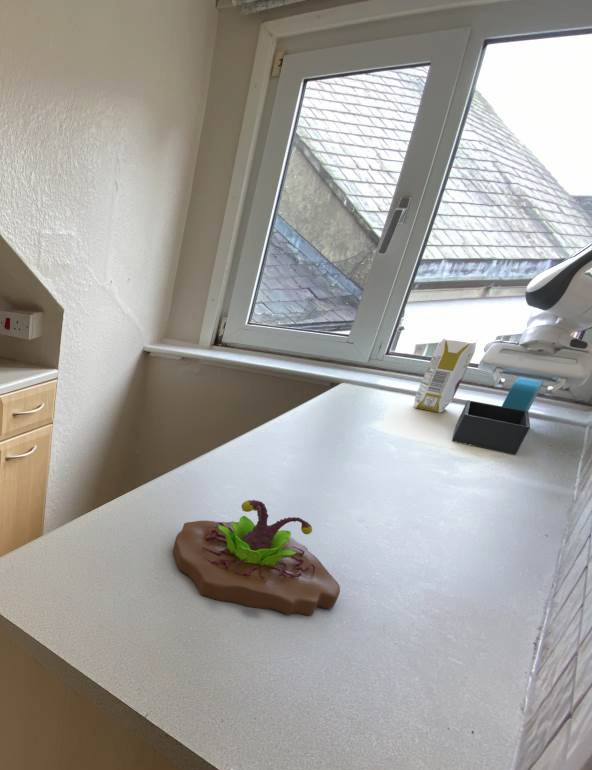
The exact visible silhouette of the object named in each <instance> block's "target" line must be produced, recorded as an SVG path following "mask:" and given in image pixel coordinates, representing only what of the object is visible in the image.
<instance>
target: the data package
mask: <svg viewBox="0 0 592 770" xmlns="http://www.w3.org/2000/svg"><path fill="white" fill-rule="evenodd" d="M544 382H545V381H543V380H538V379H532V378H526V377H517V379H516V380H515V381H514V382H513V383H512V385H511V387H510V390H509V391H508V393H507V395H506V397H505V399H504V401H503V403H502V405H501V407H507V408H512V409H518V410H523V411H528V412H529V410H530V409H531V407H532V405H533V404H534V401H535V399H536V397H537V395H538V394H539V392H540V390H541V388H542V387H543V385H544Z"/></svg>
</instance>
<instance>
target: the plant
mask: <svg viewBox="0 0 592 770" xmlns="http://www.w3.org/2000/svg"><path fill="white" fill-rule="evenodd" d="M241 511H242V512H246V513H250V512H252V511H254V512H256V513H257V515H256V516H257V522H256V524H255V523H254V522H253V521H252V520H251V519H250V518H248V517H247V516H246V515H242V516H240V517H239V522H238V521H234V520H231V521H228V522H227V521H215V520H196V521H189V522H188V521H187V522H184V524H183V526H182V528H181V530H180V531H179V532H178V533H177V534H176V536H175V540H174V544H173V549H172V555H173V556H174V559H175V563H176V566H177V569H178V570H179V571H180V572H182V573H183V574H185V575H186V576H188V577H189V578H190V580H191V581H192V582H193V583H194V585H195V587H196V588H197V590H198V592H199V594H200V595H201V596H205V597H207V598H209V599H213V600H217V601H220V602H230V603H236V604H239V605H241V606H245V607H249V608H257V609H266V610H273V611H277V612H279V613H281V614H284V615H287V616H289V615H291V614H301V615H304V616H312V615H313V614H314V613H315V610H316V608H317V607H318V608H323V609H327V610H331V609H332V608H334V606H335V605H336V603H337V601H338V598H339V595H340V592H341V587H340V584H339V582H338V581H337V580H336V579H335V578H334V577H333V575H331V573H330V572H329V570H327V568H326V567H325V566H324V565H323V564H322V562H321V561H320V559H318V557H316V555H314V554H313V553H312V552H310V551H309V550H308V547H307V546H305V545H303V544H302V543H299V542H298V541H297V540H295V539H294V538H292V537H291V536H292V531H291V530H284V529H282V530H280V529H281V528H282V527H284V526H285V525H287V524H289V523H291V522H294V523H296V522H298V523H300V524H301V528H300V531H301V532H302V534H304V535H310V534H311V533H312V532H313V526H312V525H311V524H310V523H309V522H308V521H305V520H304V519H303V518H300V517H295V516H293V517H290V516H288V517H284V518H283V519H282V518H281V519H280V520H277V521H276V522H275V523H273V524H270V525H268V518H269V514H268V509H267V507H266V505H265V503H264V502H262V501H261V500H255V499H252V500H251V499H249V500H245V501H243V503H242V504H241Z"/></svg>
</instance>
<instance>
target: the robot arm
mask: <svg viewBox="0 0 592 770" xmlns="http://www.w3.org/2000/svg"><path fill="white" fill-rule="evenodd" d="M591 269H592V241H590V242H589V243H587V244H586V245H584V246H583V247H581V248H580V249H578V250H577V251H576V252H574V253H572V254H571V255H569V256H568V257H566V258H564V259H563V260H561V261H560V262H558V263H556V264H554V265H552V266H551V267H549V268H547V269H546V270H544V271H542V272H540V273H539V274H537V275H536V276H535V277H534V278H533V279H531V280H530V281H529V283H528V284H527V285H526V287H525V290H524V291H525V293H524V296H525V297H524V298H525V301H526V304H527V305H528V306H530V307H532V308H533V310H532V311H531V314H530V316H529V317H528V320H527V322H526V328H525V330H524V331H523V332H522V334H521V336H520V338H519V341H518V342H516V341H510V340H509V341H508V340H507V341H506V340H501V339H496V340H491V341H488V342H487V343H486V344H485V346H484V348H483V352H484V354H483V356H482V357H481V359H480V362H479V363H478V365H477V369H478V370H479V371H480V372H485V373H489V374H492V378H493V379H494V382H495V383H494V385H493V387H494V388H502V387H503V386H504V384H505V382H506V378H503V377H502V375H504V376H510V377H515V378H519V377H526V378H532V379H538V380H543V381H544V382H548V383H553V386H551V385H548V386H547V387H546V389H544V393H543V396H546V397H552V396H553V395H554V394H555V392H556V391H557V390H559V389H561V388H562V387H563V386H564V385H567V386H572V387H581V386H582V385H585V383H586V382H587V381H588V380H589V378H590V376H591V374H592V354H591V353H592V343H591V342H588V341H585V340H583V339H580V338H577V337H575V336H572V334H573V333H579V332H585V331H588V330H591V329H592V277H591V276H590V275H587V274H585V273H587V272H588V271H589V270H591Z"/></svg>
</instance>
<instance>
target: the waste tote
mask: <svg viewBox="0 0 592 770" xmlns="http://www.w3.org/2000/svg"><path fill="white" fill-rule="evenodd" d="M529 414H530V413H529V411H523V410H518V409H512V408H507V407H502V405H495V404H491V403H485V402H479V401H473V400H466V403H465V405H464V407H463V409H462V411H461V413H460V415H459V418H458V420H457V422H456V424H455V427H454V431H453V434H452V438H451V441H452V442H455V441H457V442H456V443H460V442H461V443H460V444H464V443H466V444H465V445H469V444H471V445H469V446H473V445H474V446H473V447H478V448H483V449H486V450H491V451H495V452H500V453H503V454H508V455H513V456H516V455H517V453H518V451H519V450H520V448H521V445H522V444H523V442H524V440H525V439H526V437H527V434H528V433H529V431H530V429H531V423H530V416H529Z"/></svg>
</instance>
